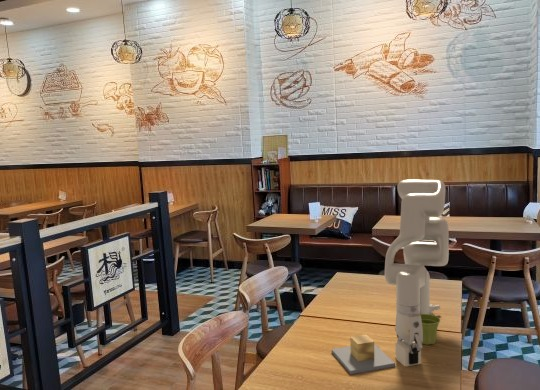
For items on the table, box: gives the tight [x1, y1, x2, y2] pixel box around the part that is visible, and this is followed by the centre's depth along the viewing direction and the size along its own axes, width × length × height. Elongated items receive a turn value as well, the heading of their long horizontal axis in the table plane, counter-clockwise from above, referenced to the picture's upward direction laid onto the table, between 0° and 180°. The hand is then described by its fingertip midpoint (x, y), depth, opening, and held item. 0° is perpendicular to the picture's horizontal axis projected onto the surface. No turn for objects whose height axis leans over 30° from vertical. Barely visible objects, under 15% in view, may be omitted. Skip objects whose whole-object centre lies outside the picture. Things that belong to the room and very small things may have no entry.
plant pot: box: [420, 314, 441, 345], centre depth 170 cm, size 9×9×9 cm
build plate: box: [331, 343, 396, 375], centre depth 159 cm, size 16×16×1 cm
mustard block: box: [349, 334, 375, 361], centre depth 158 cm, size 6×6×6 cm
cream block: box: [395, 340, 422, 367], centre depth 156 cm, size 6×6×6 cm
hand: (408, 358), depth 156 cm, fingers closed on cream block, 6 cm apart
